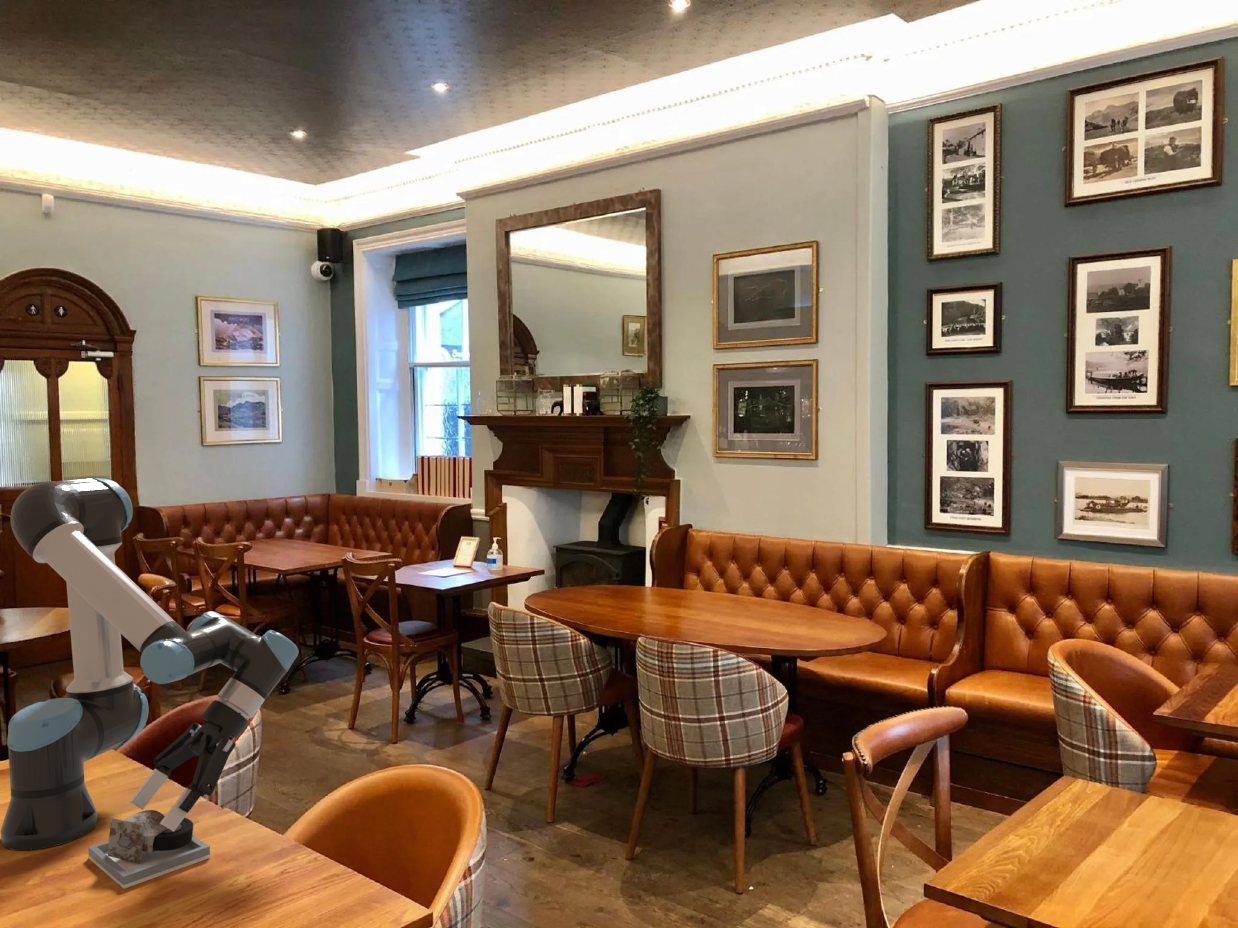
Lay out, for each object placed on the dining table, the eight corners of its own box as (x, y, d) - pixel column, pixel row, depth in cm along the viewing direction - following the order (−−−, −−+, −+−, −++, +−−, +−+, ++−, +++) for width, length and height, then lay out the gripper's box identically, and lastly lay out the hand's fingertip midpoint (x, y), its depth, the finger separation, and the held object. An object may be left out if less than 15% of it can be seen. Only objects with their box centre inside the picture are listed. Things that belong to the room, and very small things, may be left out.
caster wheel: (201, 846, 164) (162, 871, 155) (146, 832, 167) (104, 857, 157) (205, 810, 164) (166, 833, 154) (150, 796, 166) (108, 818, 157)
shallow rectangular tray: (88, 858, 160) (88, 846, 160) (171, 830, 171) (171, 820, 170) (123, 888, 149) (123, 876, 149) (210, 857, 160) (209, 846, 160)
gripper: (279, 734, 164) (197, 847, 153) (217, 706, 180) (140, 806, 170) (249, 712, 159) (163, 826, 149) (188, 686, 176) (107, 787, 166)
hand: (150, 816), depth 160 cm, fingers open, 13 cm apart
